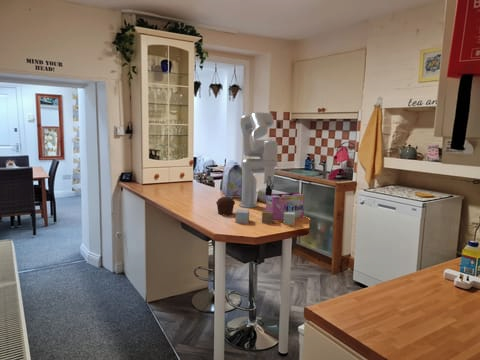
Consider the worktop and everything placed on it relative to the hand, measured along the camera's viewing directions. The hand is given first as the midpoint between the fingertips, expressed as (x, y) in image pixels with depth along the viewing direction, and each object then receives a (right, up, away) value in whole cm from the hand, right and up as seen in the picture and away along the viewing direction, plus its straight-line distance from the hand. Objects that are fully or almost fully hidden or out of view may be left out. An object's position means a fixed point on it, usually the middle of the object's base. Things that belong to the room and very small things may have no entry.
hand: (268, 193), depth 200 cm
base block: (-15, -16, +2) cm, 22 cm away
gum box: (+11, -15, +16) cm, 24 cm away
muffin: (-25, -13, +19) cm, 34 cm away
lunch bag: (-21, -4, +76) cm, 78 cm away
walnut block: (-1, -16, +3) cm, 16 cm away
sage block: (+11, -17, +2) cm, 20 cm away
